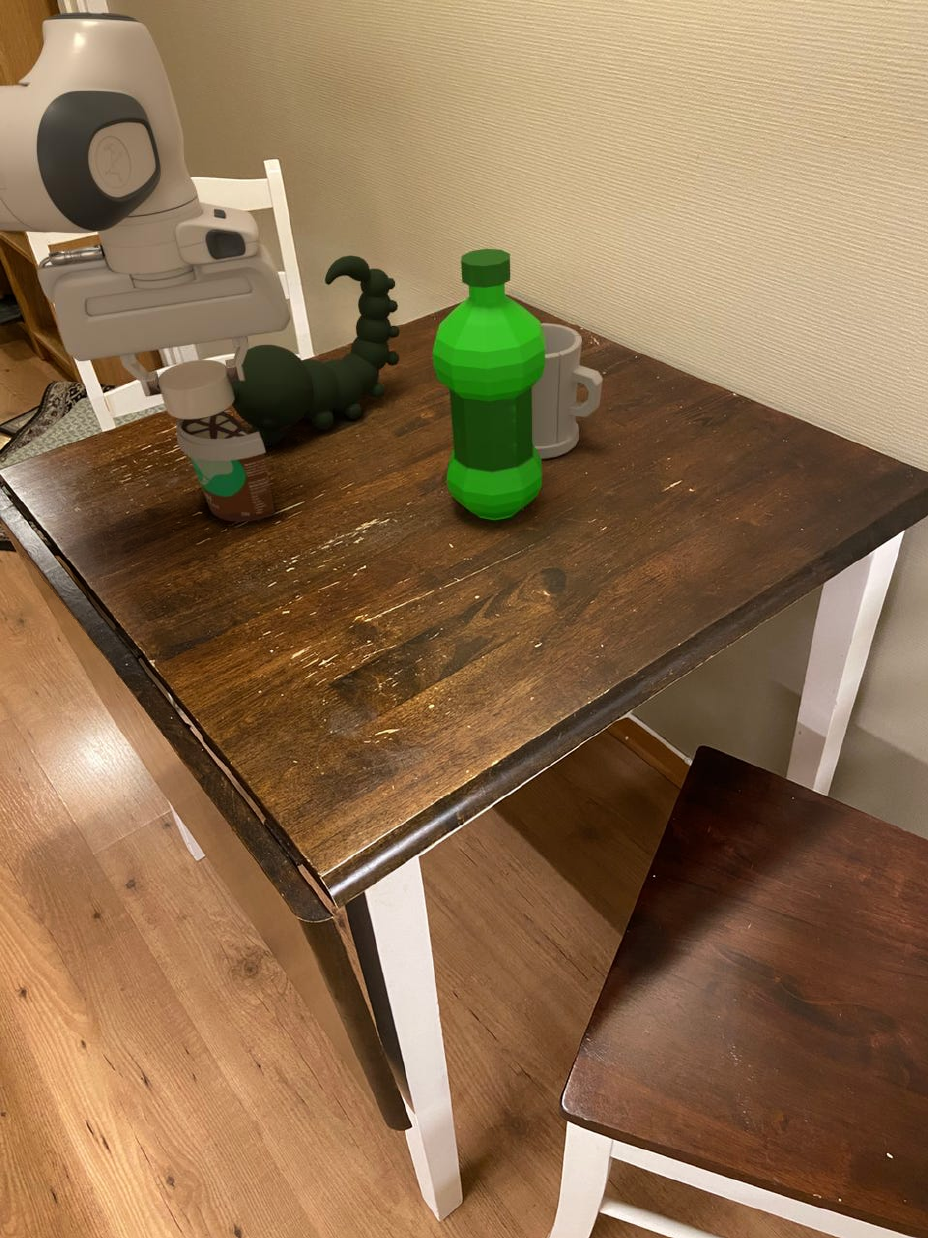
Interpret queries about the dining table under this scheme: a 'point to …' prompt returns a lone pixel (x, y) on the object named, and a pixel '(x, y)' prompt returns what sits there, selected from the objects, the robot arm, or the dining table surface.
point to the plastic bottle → (491, 390)
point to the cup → (561, 393)
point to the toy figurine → (321, 366)
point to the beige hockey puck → (196, 389)
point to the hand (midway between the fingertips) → (196, 386)
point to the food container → (228, 466)
